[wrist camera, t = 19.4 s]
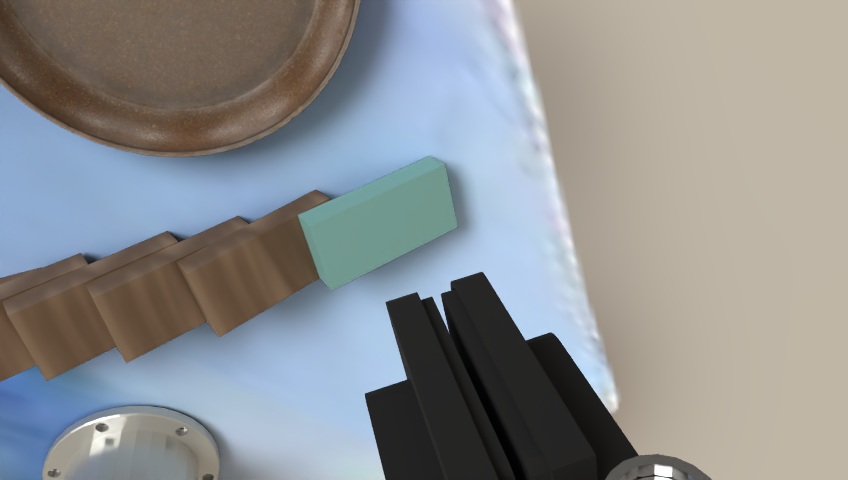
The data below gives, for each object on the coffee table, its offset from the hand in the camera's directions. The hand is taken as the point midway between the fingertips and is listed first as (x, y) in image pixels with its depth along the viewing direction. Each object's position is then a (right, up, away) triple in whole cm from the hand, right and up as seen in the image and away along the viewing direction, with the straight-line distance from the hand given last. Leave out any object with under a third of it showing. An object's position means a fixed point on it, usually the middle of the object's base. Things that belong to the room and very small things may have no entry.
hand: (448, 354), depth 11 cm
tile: (+1, +5, +34) cm, 35 cm away
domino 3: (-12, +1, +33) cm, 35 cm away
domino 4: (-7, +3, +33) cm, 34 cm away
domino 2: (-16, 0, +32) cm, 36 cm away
